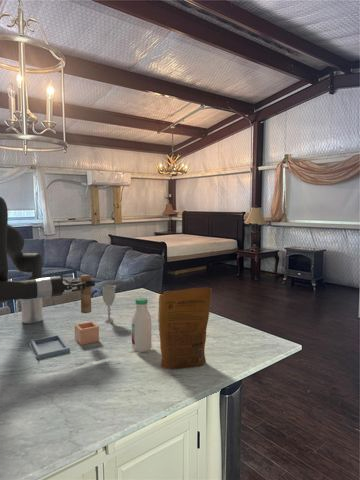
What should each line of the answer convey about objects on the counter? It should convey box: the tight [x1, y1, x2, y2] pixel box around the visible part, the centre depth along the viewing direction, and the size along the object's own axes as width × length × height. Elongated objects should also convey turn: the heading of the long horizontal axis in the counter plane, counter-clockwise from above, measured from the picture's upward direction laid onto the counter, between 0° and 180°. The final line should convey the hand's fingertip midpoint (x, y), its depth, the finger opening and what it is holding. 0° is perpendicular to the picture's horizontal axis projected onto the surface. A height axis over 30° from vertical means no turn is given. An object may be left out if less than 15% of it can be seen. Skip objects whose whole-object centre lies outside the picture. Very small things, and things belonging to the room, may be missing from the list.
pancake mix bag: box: [157, 287, 213, 370], centre depth 114 cm, size 7×19×28 cm, turn 102°
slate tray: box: [30, 334, 71, 362], centre depth 127 cm, size 16×11×2 cm
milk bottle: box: [131, 297, 152, 353], centre depth 128 cm, size 8×8×20 cm
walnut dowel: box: [79, 274, 92, 314], centre depth 133 cm, size 4×4×15 cm
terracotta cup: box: [74, 320, 100, 346], centre depth 135 cm, size 8×8×7 cm
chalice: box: [101, 284, 117, 324], centre depth 156 cm, size 7×7×18 cm
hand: (92, 282), depth 134 cm, fingers closed on walnut dowel, 4 cm apart
